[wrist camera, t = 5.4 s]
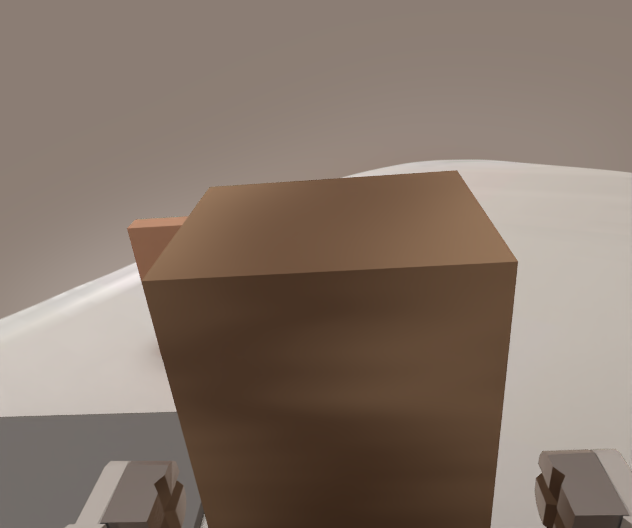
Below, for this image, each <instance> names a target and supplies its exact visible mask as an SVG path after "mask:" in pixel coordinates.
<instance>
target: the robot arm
mask: <svg viewBox="0 0 632 528" xmlns="http://www.w3.org/2000/svg"><path fill="white" fill-rule="evenodd" d="M538 464H539V467H540V469H541V471H542V473H541V474H540V475H539V476H538V477H537V478H536V483H535V497H536V504H537V508H538V512H539V515H540V518H541V521H542V523H543V525H544V526H546V527H547V528H632V471H631V469H630V468H629V466H628V465H627V463H626V461H625V460H624V458H623V457H622V455H621V453H620V452H619V451H617V450H616V449H593V450H588V449H585V450H557V451H542V452H541V454H540V456H539V462H538ZM179 472H180V471H179V469H178V466H177V463H176V461H110V462H109V463H108V464H107V465H106V466H105V467H104V469H103V471H102V473H101V475H100V477H99V479H98V481H97V483H96V485H95V486H94V488H93V490H92V492H91V494H90V496H89V498H88V500H87V502H86V504H85V506H84V508H83V510H82V512H81V514H80V516H79V517H78V519H77V521H76V523H75V524H69V525H67V526H66V527H65V528H182V525H183V522H184V518H185V512H186V492H185V489H184V485H183V484H181V483H180V482H179V481H177V478H178V475H179Z"/></svg>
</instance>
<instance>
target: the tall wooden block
mask: <svg viewBox="0 0 632 528" xmlns="http://www.w3.org/2000/svg"><path fill="white" fill-rule="evenodd" d="M517 266H518V261H517V259H516V258H515V256H514V255H513V253H512V252H511V250H510V249H509V247H508V246H507V244H506V243H505V241H504V240H503V239H502V237H501V236H500V234H499V233H498V231H497V230H496V228H495V227H494V225H493V224H492V222H491V221H490V219H489V218H488V216H487V215H486V213H485V212H484V210H483V209H482V207H481V206H480V204H479V203H478V201H477V200H476V198H475V197H474V195H473V194H472V192H471V191H470V189H469V188H468V186H467V185H466V183H465V182H464V180H463V179H462V177H461V176H460V174H459V173H458V171H442V172H427V173H412V174H397V175H382V176H367V177H352V178H337V179H323V180H309V181H293V182H280V183H263V184H248V185H233V186H219V187H209V189H208V190H207V192H206V193H205V194H204V196H203V197H202V198H201V200H200V201H199V203H198V204H197V205H196V207H195V208H194V209H193V211H192V212H191V214H190V215H189V216H188V218H187V219H186V220H185V222H184V223H183V225H182V226H181V227H180V229H179V230H178V231H177V233H176V234H175V236H174V237H173V238H172V240H171V241H170V243H169V244H168V245H167V247H166V248H165V249H164V251H163V252H162V254H161V255H160V256H159V258H158V259H157V260H156V262H155V263H154V265H153V266H152V267H151V269H150V270H149V271H148V273H147V274H146V276H145V277H144V278H143V280H142V285H143V289H144V292H145V296H146V300H147V303H148V307H149V311H150V314H151V318H152V322H153V325H154V329H155V333H156V337H157V340H158V344H159V348H160V351H161V355H162V359H163V362H164V366H165V370H166V373H167V377H168V381H169V384H170V388H171V392H172V395H173V399H174V403H175V406H176V410H177V414H178V418H179V421H180V425H181V429H182V432H183V436H184V440H185V443H186V447H187V451H188V454H189V458H190V462H191V465H192V469H193V473H194V476H195V480H196V484H197V487H198V491H199V495H200V498H201V502H202V506H203V510H204V513H205V517H206V521H207V524H208V528H490V526H491V516H492V506H493V497H494V487H495V477H496V468H497V458H498V449H499V439H500V429H501V420H502V410H503V400H504V391H505V381H506V372H507V362H508V352H509V343H510V333H511V323H512V314H513V304H514V295H515V285H516V275H517Z"/></svg>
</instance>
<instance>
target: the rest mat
mask: <svg viewBox="0 0 632 528" xmlns="http://www.w3.org/2000/svg"><path fill="white" fill-rule="evenodd" d="M110 461H176V463H177V466H178V469H179V471H180V472H179V475H178V478H177V481H179V482H180V483H181V484H183V485H184V489H185V492H186V512H185V518H184V522H183V525H182V528H200V525H201V521H202V517H203V514H204V510H203V506H202V502H201V498H200V495H199V491H198V487H197V484H196V480H195V476H194V473H193V469H192V465H191V462H190V458H189V454H188V451H187V447H186V443H185V440H184V436H183V432H182V429H181V425H180V421H179V418H178V414H177V412H157V413H122V414H88V415H53V416H19V417H0V528H65V527H66V526H67V525H69V524H75V523H76V521H77V519H78V517H79V516H80V514H81V512H82V510H83V508H84V506H85V504H86V502H87V500H88V498H89V496H90V494H91V492H92V490H93V488H94V486H95V485H96V483H97V481H98V479H99V477H100V475H101V473H102V471H103V469H104V467H105V466H106V465H107V464H108V463H109V462H110Z"/></svg>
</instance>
